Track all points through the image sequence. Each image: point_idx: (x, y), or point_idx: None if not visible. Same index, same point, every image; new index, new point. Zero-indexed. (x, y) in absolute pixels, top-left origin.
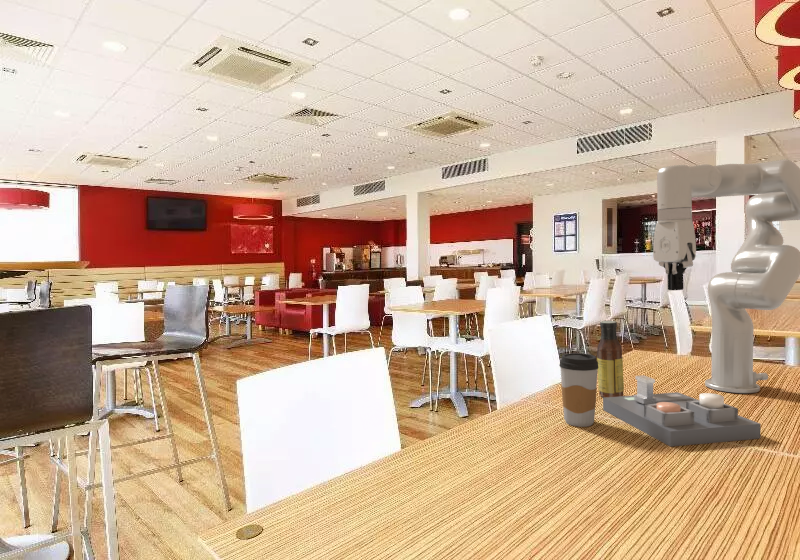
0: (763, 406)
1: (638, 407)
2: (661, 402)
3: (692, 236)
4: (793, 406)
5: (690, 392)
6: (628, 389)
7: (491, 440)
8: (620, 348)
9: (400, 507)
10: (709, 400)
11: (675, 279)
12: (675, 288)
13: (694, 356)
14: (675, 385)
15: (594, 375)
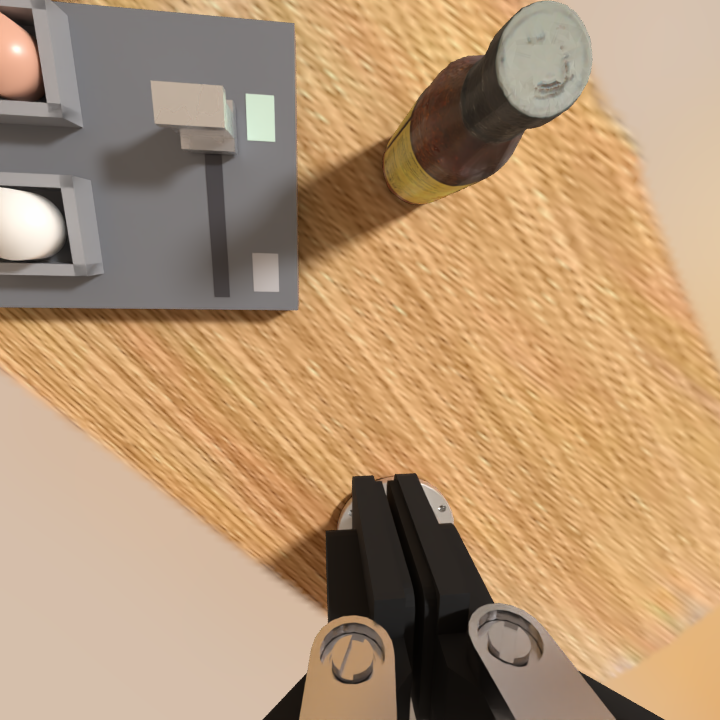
0: (239, 484)
1: (165, 69)
2: (21, 47)
3: None
4: (227, 540)
5: (388, 409)
6: (465, 268)
7: None
8: (431, 148)
9: None
10: None
11: (352, 581)
12: (353, 514)
13: (671, 636)
14: (456, 417)
15: None
